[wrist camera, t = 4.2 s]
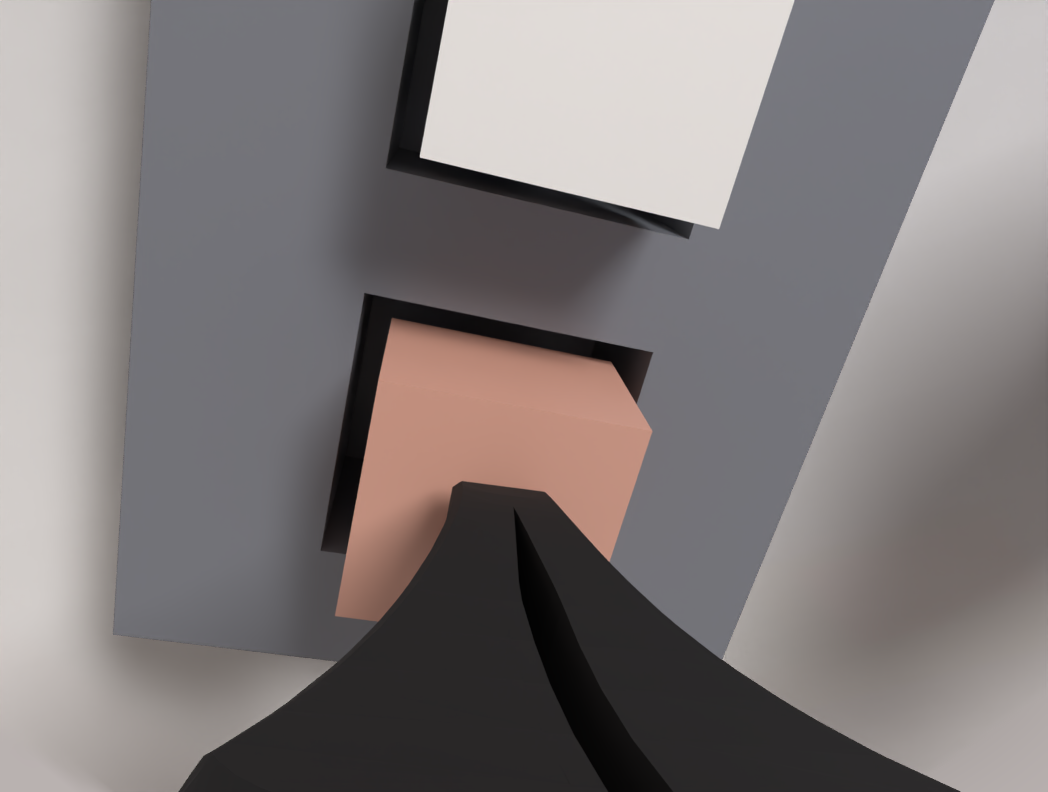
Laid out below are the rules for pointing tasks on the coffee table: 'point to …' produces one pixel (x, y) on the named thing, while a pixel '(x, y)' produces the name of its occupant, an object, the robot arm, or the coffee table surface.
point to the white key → (606, 96)
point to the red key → (483, 448)
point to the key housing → (480, 298)
